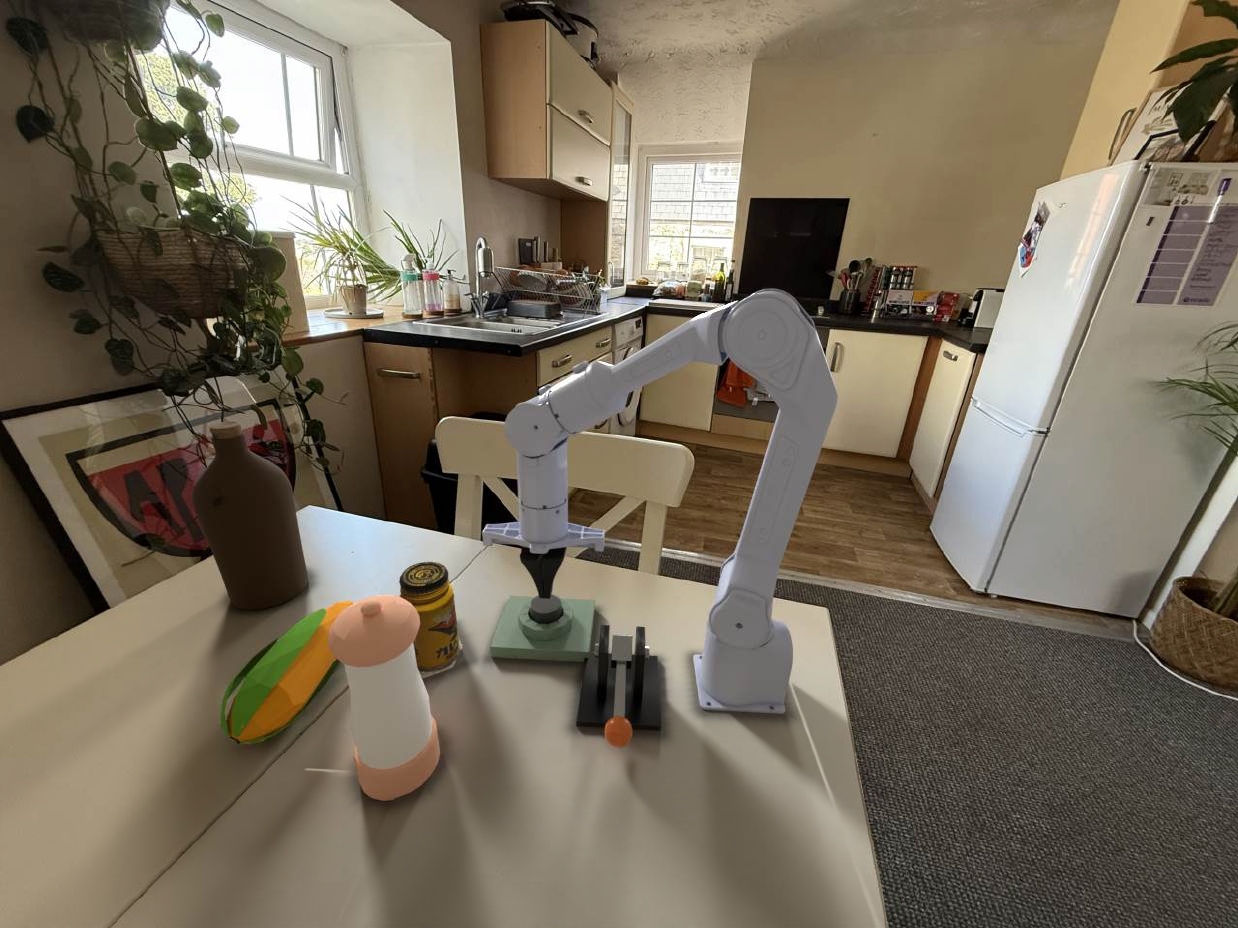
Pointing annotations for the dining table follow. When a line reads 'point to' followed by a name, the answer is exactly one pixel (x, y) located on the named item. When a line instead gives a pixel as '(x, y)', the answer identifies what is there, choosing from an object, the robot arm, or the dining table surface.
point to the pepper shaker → (386, 696)
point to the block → (544, 632)
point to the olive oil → (250, 523)
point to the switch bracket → (601, 686)
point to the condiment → (432, 616)
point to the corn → (281, 679)
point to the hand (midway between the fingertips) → (545, 593)
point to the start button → (545, 609)
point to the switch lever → (620, 692)
